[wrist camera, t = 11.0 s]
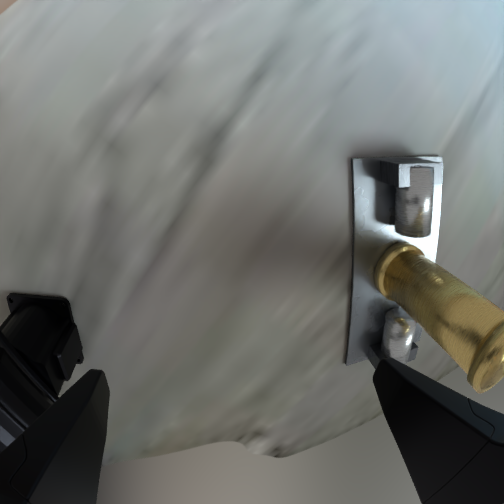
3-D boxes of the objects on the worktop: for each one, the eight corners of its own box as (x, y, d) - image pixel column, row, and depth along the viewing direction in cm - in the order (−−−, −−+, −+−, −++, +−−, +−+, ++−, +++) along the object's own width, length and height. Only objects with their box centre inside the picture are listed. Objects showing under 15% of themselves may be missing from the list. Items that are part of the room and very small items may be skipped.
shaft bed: (417, 338, 28) (434, 356, 25) (345, 363, 27) (358, 386, 24) (439, 156, 21) (466, 161, 18) (351, 158, 20) (375, 163, 17)
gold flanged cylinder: (363, 285, 23) (464, 392, 12) (394, 232, 22) (518, 315, 10) (399, 301, 25) (491, 393, 13) (427, 255, 24) (534, 330, 12)
